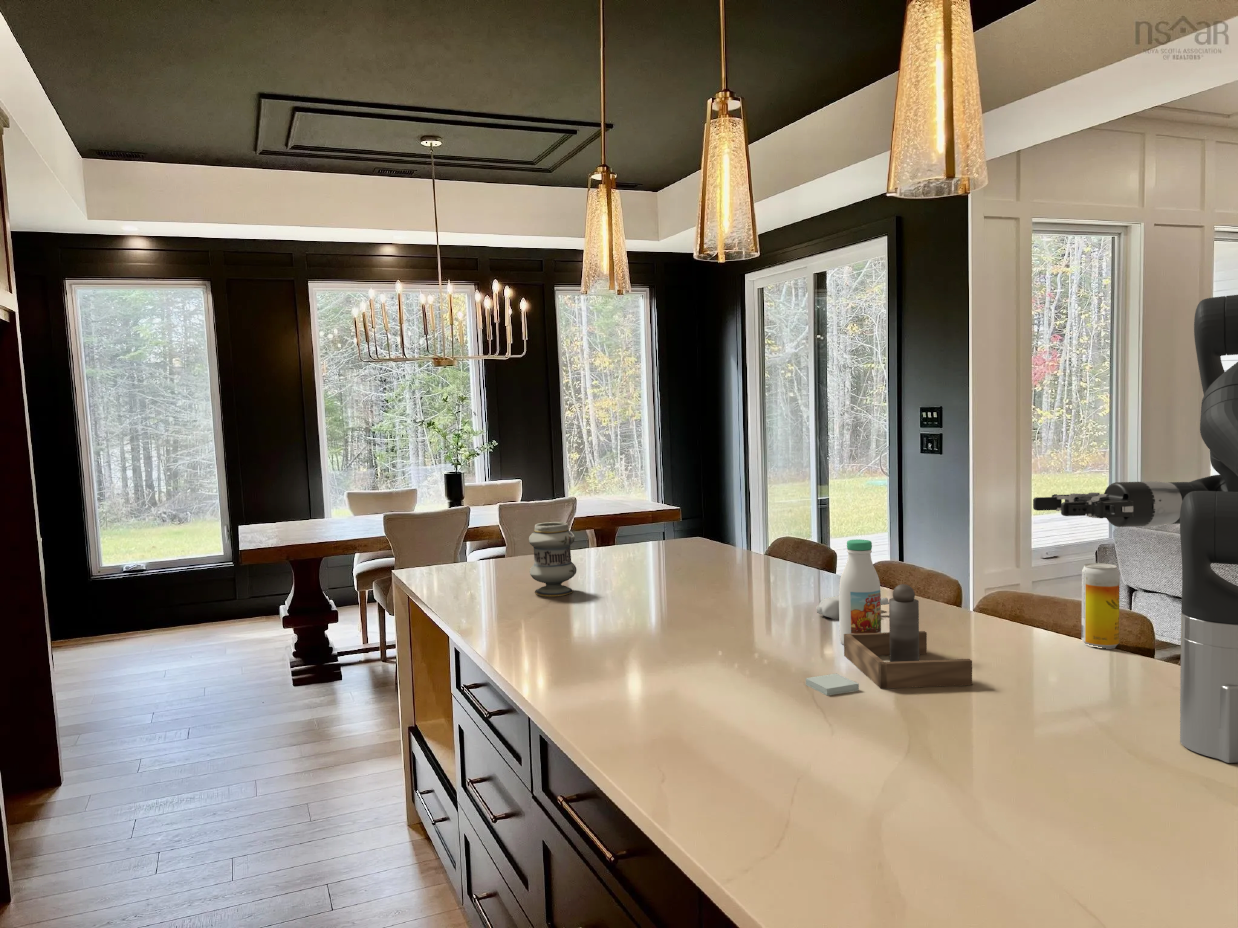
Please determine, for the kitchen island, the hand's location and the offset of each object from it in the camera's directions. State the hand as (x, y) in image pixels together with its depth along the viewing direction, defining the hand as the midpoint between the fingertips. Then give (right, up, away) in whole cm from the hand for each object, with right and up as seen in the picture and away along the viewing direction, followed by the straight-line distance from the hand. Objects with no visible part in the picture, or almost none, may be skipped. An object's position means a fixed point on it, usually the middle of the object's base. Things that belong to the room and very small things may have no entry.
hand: (1047, 506), depth 141 cm
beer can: (+18, -27, +16) cm, 36 cm away
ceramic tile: (-37, -30, -4) cm, 48 cm away
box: (-23, -28, +5) cm, 36 cm away
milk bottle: (-25, -28, +21) cm, 43 cm away
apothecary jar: (-89, -26, +77) cm, 120 cm away
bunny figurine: (-21, -27, +45) cm, 56 cm away
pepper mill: (-22, -28, +5) cm, 36 cm away
